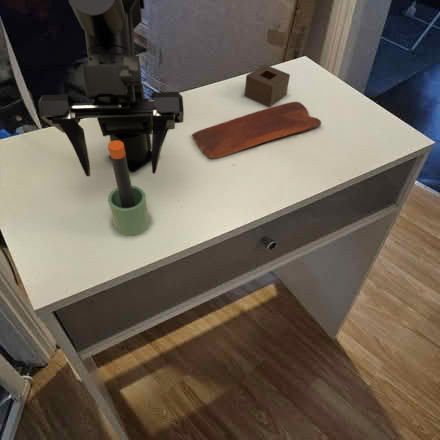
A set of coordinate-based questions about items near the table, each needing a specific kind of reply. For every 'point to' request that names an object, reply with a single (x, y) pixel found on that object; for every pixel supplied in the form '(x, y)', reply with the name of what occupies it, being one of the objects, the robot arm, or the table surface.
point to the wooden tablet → (254, 129)
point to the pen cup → (129, 213)
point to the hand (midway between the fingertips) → (121, 174)
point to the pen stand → (266, 85)
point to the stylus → (121, 173)
